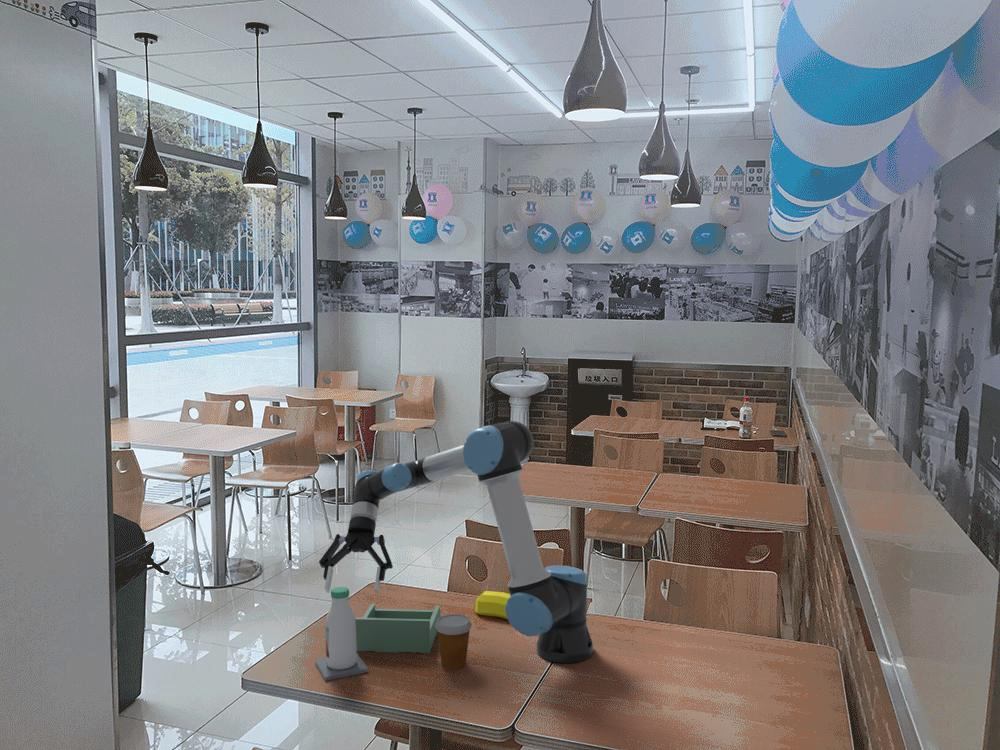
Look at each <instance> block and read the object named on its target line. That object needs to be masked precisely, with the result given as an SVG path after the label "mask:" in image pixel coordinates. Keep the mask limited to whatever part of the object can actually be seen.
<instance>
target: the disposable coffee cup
mask: <svg viewBox="0 0 1000 750" xmlns="http://www.w3.org/2000/svg"><path fill="white" fill-rule="evenodd" d="M435 628H436V630H437V640H438V647H439V648H438V649H439V655H440V660H441V661H440V662H441V666H442V668H444V667H445V668H444V669H446V668H447V670H452V669H454V670H459V669H463V668H465V666H466V664H467V656H468V650H469V649H468V647H469V638H470V631H471V628H472V622H471V619H470V617H469V616H467V615H465V614H459V613H447V614H444V615H441V617H439V618H438V619H437V622H436V624H435ZM462 667H463V668H462Z"/></svg>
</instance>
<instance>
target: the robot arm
mask: <svg viewBox="0 0 1000 750" xmlns="http://www.w3.org/2000/svg"><path fill="white" fill-rule="evenodd" d="M534 444H535V443H534V437H533V433H532V432H531V430H530V429H529V427H527V425H525V424H523V423H522V422H520V421H514V420H507V421H504V422H499V423H494V424H490V425H484V426H482V427H478V428H476V429H475V430H472V432H470V433H469V434H468V436H467V437H466V439H465V441H464V444H461V445H459V446H455V447H453V448H449V449H447V450H444V451H440V452H438V453H434V454H432V455H428V456H426V457H423V458H419V459H416V460H412V461H410V462H405V463H401V462H395V463H394V464H390V465H387V466H386V467H385V468H384V469H382V470H380V471H375V470H371V469H369V470H362V471H361V472H360V473H359V474H358V476H357V479H356V482H355V485H354V486H355V487H354V494H353V500H352V506H351V511H350V517H349V518H350V520H349V523H348V529H347V534H346V535H345V536H343V535H340V534H339V533H337V534H335V537H334V540H333V542H332V543H331V545H330V546H329V547H328V548H327V550H326V551H325V552H324V554H323V555H322V557H321V558H320V560H319V561H318V564H319V566H320V567H321V568H323V569H324V570H323V579H324V581H325V583H324V590H325V592H326V593H331V585H332V580H333V574H334V569H333V568H334V567H335V566H336V565H337V564H338V563H340V561H341V560H343V559H344V558H345V557H346V556H347V555H349V554H350V553H351V552H353V553H366V552H368V553H369V555H370V556H371V558H372V559H373V560H374V561H375V562H376V564H377V565H378V566H377V567H376V568H377V569H376V573H375V581H374V589H373V590H374V592H375V594H379V592H380V586H381V582H383V581H384V580H385V575H386V571H387V570H388V569H390V570H391V569H393V567H394V566H393V563H392V559H391V558H390V555H389V553H388V549H387V547H386V545H385V543H386V540H385V537H384V535H383V534H379V536H375V534H376V527H377V524H376V522H377V521H378V520H377V519H378V512H379V504H380V501H381V500H383V499H385V498H387V497H389V496H391V495H393V494H397V493H399V492H403V491H406V490H409V489H413V488H416V487H419V486H423V485H428V484H430V483H433V482H435V481H438V480H442V479H446V478H450V477H453V476H456V475H458V474H462V473H466V472H469V471H471V472H472V473H474V474H476V475H477V479H478V482H479V483H480V484H482V485H483V486H485V487H486V488H487V493H488V495H489V499H490V503H491V506H492V507H491V508H492V510H493V511H492V512H493V514H494V518H495V522H496V526H497V529H498V532H499V536H500V540H501V544H502V547H503V550H504V555H505V557H506V562H507V566H508V569H509V573H510V577H511V578H510V580H509V582H508V583H507V589H508V592H509V594H510V596H511V597H510V598H509V599H508V601H507V604H506V608H505V610H506V616H507V618H508V619H507V621H508V623H509V624H510V626H511V627H512V628H513V629H514V630H515V631H517V632H519V633H520V634H521V635H523V636H525V637H526V636H527V637H537V636H538V639H537V641H536V652H537V654H538V655H539V657H541V658H542V659H545V660H547V661H549V662H552V663H553V662H554V663H559V664H575V663H579V662H583V661H586V660H587V659H589V658H591V656H592V655H593V654H594V645H593V643H594V642H593V641H592V640H593V639H592V638H591V633H590V631H589V628H588V625H587V614H588V613H587V611H588V610H587V608H588V607H587V603H588V601H587V599H588V597H587V596H588V595H587V594H588V590H587V589H588V583H587V581H588V580H587V579H588V578H587V573H586V572H585V571H584V570H582V569H580V568H577V567H574V566H569V565H556V564H555V565H549V566H546V567H545V568H544V565H543V561H542V558H541V554H540V550H539V547H538V543H537V540H536V539H537V538H536V536H535V533H534V529H533V525H532V521H531V518H530V515H529V511H528V507H527V503H526V500H525V496H524V493H523V489H522V485H521V482H520V476H521V473H522V472H523V467H522V465H521V463H522V462H524V461H525V460H527V459H528V458H529V456H530V455H531V454H532V452H533V449H534ZM344 542H345V544H344ZM375 543H377V545H379V546H380V549H381V551H382V554H383V558H384V559H385V562H384V561H383V560H382V558H381V556H379V555H378V553H377V551H376V550H375V549H374V548H373V545H374V544H375ZM342 544H344V545H343V546H342V547H341V548H340V546H341V545H342ZM339 548H340V549H339ZM338 549H339V550H338Z"/></svg>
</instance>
